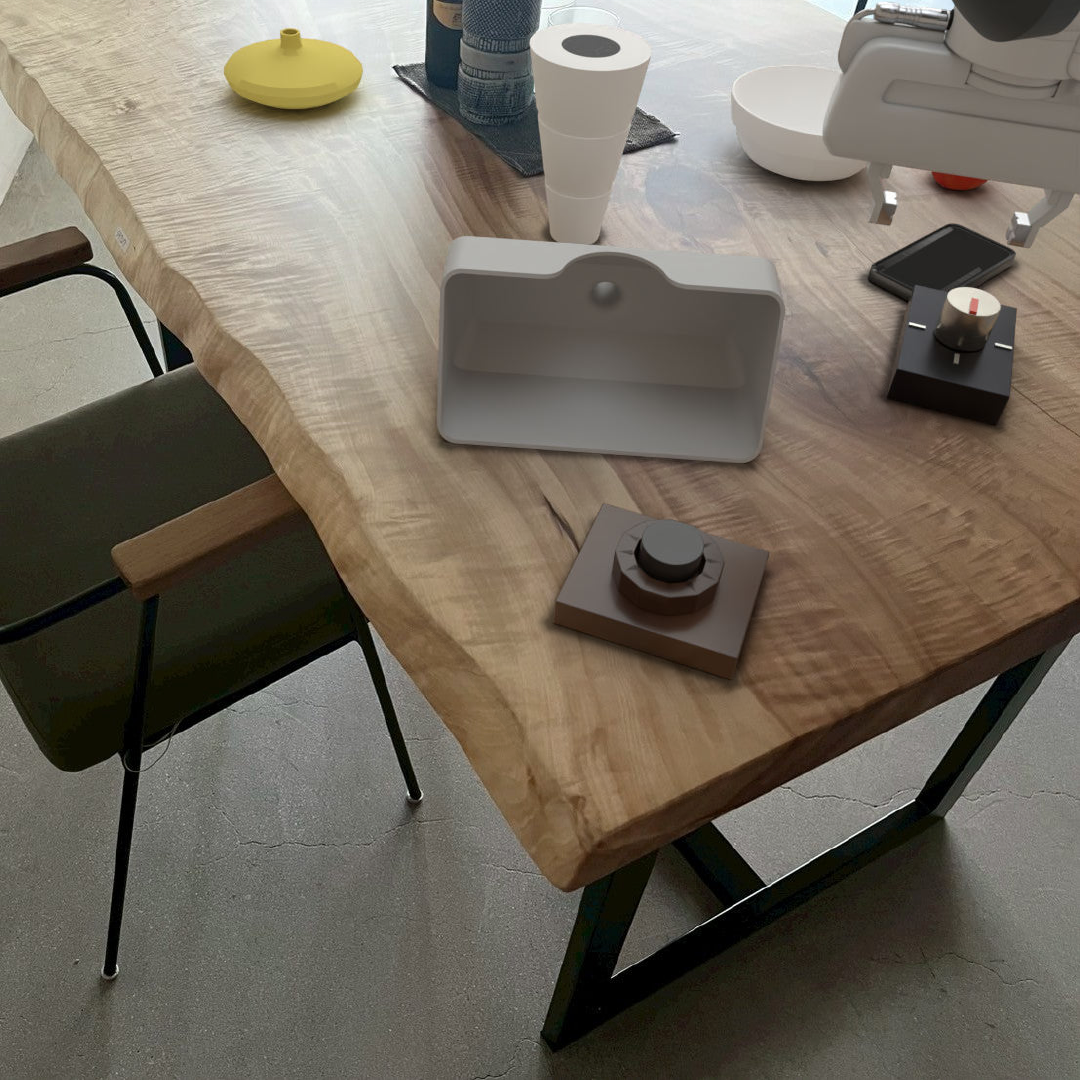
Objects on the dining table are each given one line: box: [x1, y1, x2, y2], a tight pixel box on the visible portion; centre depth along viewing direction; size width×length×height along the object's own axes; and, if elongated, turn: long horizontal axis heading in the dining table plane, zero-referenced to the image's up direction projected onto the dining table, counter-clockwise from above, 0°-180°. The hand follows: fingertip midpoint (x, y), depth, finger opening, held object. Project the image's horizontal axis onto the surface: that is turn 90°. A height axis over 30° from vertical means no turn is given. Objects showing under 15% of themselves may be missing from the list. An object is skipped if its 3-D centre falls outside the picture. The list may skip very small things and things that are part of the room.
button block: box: [553, 502, 771, 680], centre depth 69 cm, size 12×10×4 cm
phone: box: [867, 222, 1017, 302], centre depth 102 cm, size 8×1×15 cm
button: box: [639, 519, 704, 583], centre depth 67 cm, size 4×4×2 cm
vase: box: [223, 27, 364, 110], centre depth 120 cm, size 16×16×7 cm
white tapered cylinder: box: [529, 22, 653, 245], centre depth 97 cm, size 11×11×18 cm
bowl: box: [730, 64, 867, 182], centre depth 115 cm, size 18×18×7 cm
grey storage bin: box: [436, 235, 786, 464], centre depth 82 cm, size 25×16×12 cm, turn 88°
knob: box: [934, 287, 1002, 351], centre depth 88 cm, size 4×4×4 cm
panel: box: [886, 285, 1018, 426], centre depth 90 cm, size 14×9×3 cm, turn 160°
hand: (947, 231), depth 72 cm, fingers open, 8 cm apart
